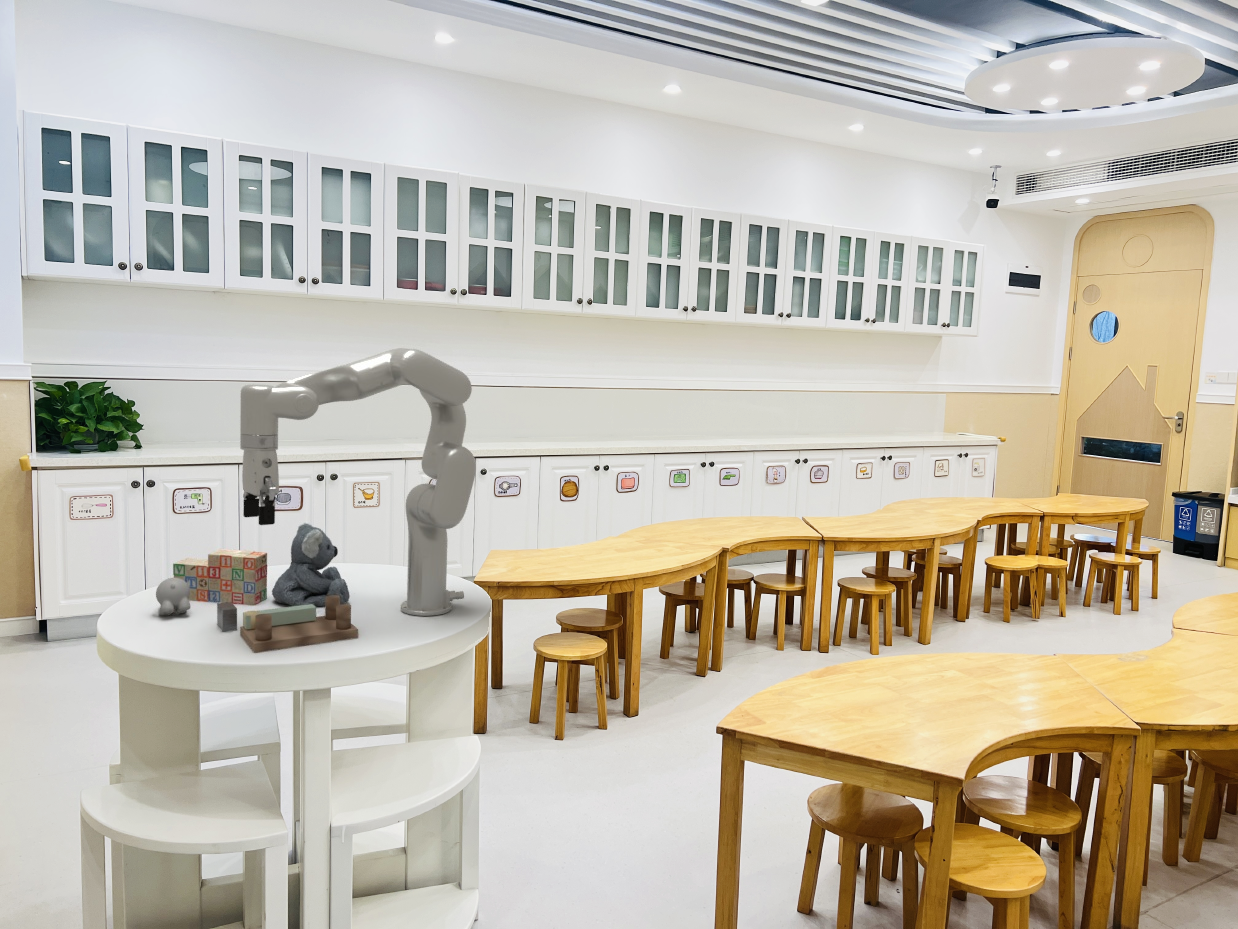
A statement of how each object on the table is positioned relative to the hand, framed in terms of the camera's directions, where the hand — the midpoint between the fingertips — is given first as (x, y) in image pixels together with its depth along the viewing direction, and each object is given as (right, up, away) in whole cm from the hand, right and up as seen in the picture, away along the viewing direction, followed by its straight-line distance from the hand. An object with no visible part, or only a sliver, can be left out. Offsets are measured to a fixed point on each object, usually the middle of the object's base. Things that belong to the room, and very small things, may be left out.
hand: (258, 520), depth 191 cm
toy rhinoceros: (-27, -23, +17) cm, 39 cm away
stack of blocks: (-22, -22, +29) cm, 42 cm away
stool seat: (+7, -26, +4) cm, 27 cm away
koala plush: (0, -23, +32) cm, 39 cm away
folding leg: (+2, -23, +6) cm, 24 cm away
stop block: (-10, -25, +8) cm, 28 cm away
